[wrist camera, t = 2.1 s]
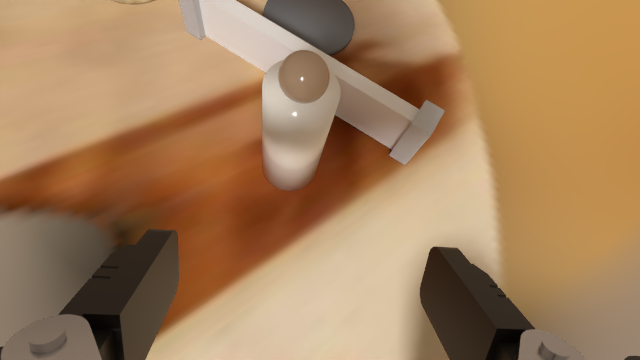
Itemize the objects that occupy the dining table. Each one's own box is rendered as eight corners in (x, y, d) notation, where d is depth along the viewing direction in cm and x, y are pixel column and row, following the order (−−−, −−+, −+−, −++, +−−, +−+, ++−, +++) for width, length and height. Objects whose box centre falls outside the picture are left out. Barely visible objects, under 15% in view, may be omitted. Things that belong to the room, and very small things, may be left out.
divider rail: (186, 31, 35) (173, -19, 30) (205, 15, 37) (196, -36, 31) (404, 165, 33) (430, 135, 28) (417, 143, 34) (444, 110, 29)
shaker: (251, 171, 30) (243, 63, 18) (281, 133, 32) (294, 13, 20) (296, 200, 30) (321, 111, 18) (325, 160, 32) (364, 54, 20)
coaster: (244, 25, 37) (244, 20, 36) (296, -23, 41) (296, -28, 40) (324, 72, 36) (324, 68, 35) (368, 19, 40) (369, 15, 39)
